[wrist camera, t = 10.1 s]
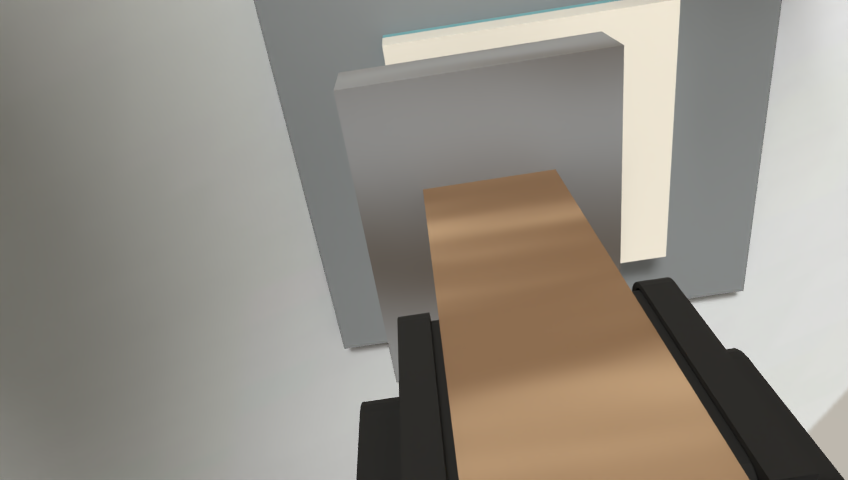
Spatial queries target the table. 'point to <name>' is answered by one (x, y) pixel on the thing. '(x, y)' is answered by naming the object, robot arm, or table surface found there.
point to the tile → (642, 91)
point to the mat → (457, 3)
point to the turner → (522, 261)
